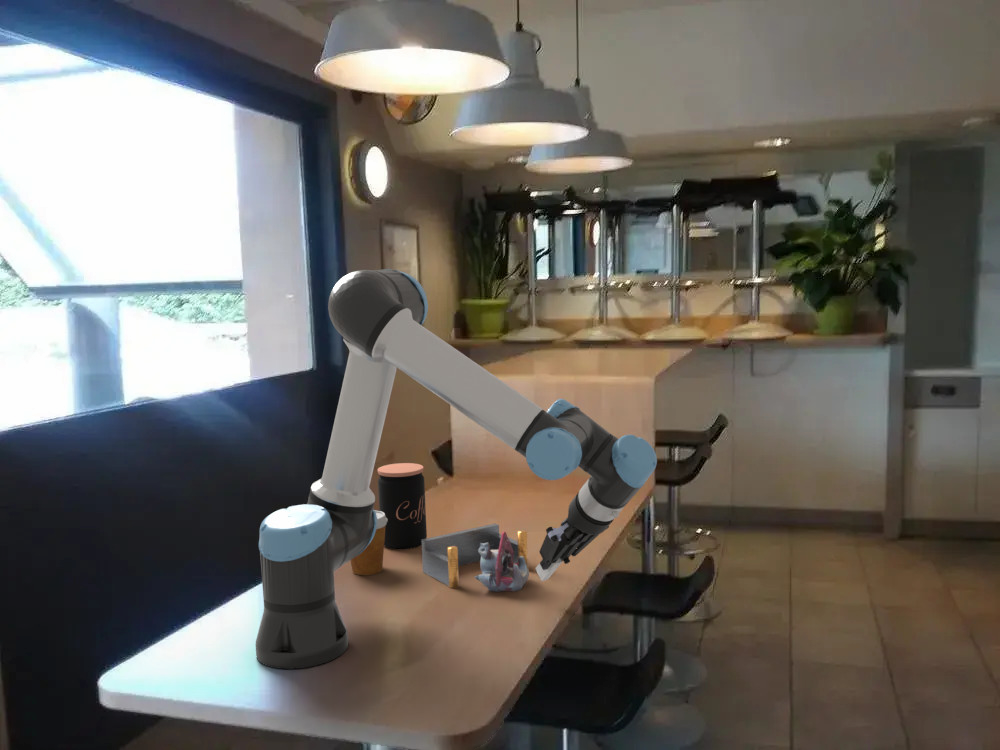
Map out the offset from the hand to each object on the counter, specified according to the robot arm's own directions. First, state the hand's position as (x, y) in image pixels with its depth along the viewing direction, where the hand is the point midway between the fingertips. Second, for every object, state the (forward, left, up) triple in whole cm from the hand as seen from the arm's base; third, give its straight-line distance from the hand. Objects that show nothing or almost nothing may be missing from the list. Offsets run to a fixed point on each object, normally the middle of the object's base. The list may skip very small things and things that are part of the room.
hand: (541, 573), depth 164 cm
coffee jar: (-3, +50, -6) cm, 50 cm away
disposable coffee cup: (-18, +38, -6) cm, 42 cm away
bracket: (0, +23, -6) cm, 24 cm away
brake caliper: (-1, +12, -6) cm, 14 cm away
